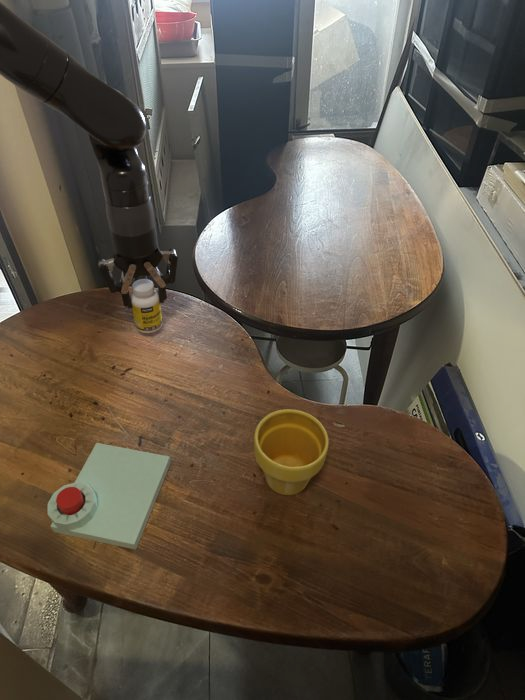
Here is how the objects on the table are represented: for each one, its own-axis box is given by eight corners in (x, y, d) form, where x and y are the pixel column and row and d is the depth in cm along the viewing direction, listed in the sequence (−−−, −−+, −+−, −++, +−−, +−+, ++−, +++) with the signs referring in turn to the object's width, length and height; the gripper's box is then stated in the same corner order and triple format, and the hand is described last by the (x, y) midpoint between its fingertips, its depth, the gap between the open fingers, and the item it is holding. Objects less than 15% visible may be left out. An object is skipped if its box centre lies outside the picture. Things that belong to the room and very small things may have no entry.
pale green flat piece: (46, 531, 66) (38, 518, 64) (92, 447, 76) (87, 434, 74) (136, 550, 64) (131, 538, 62) (171, 462, 74) (168, 449, 72)
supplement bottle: (144, 337, 93) (136, 297, 86) (130, 323, 96) (122, 283, 89) (168, 326, 95) (162, 286, 89) (154, 313, 98) (147, 273, 92)
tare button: (55, 512, 65) (51, 505, 63) (66, 491, 67) (63, 484, 66) (77, 516, 64) (73, 510, 63) (88, 495, 67) (85, 489, 65)
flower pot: (318, 447, 77) (325, 408, 70) (324, 507, 69) (332, 470, 63) (253, 447, 77) (254, 407, 70) (252, 506, 69) (253, 469, 62)
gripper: (89, 240, 76) (109, 322, 88) (179, 228, 80) (187, 308, 91) (85, 218, 81) (105, 298, 93) (170, 207, 85) (179, 286, 96)
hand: (145, 303), depth 92 cm, fingers closed on supplement bottle, 5 cm apart
